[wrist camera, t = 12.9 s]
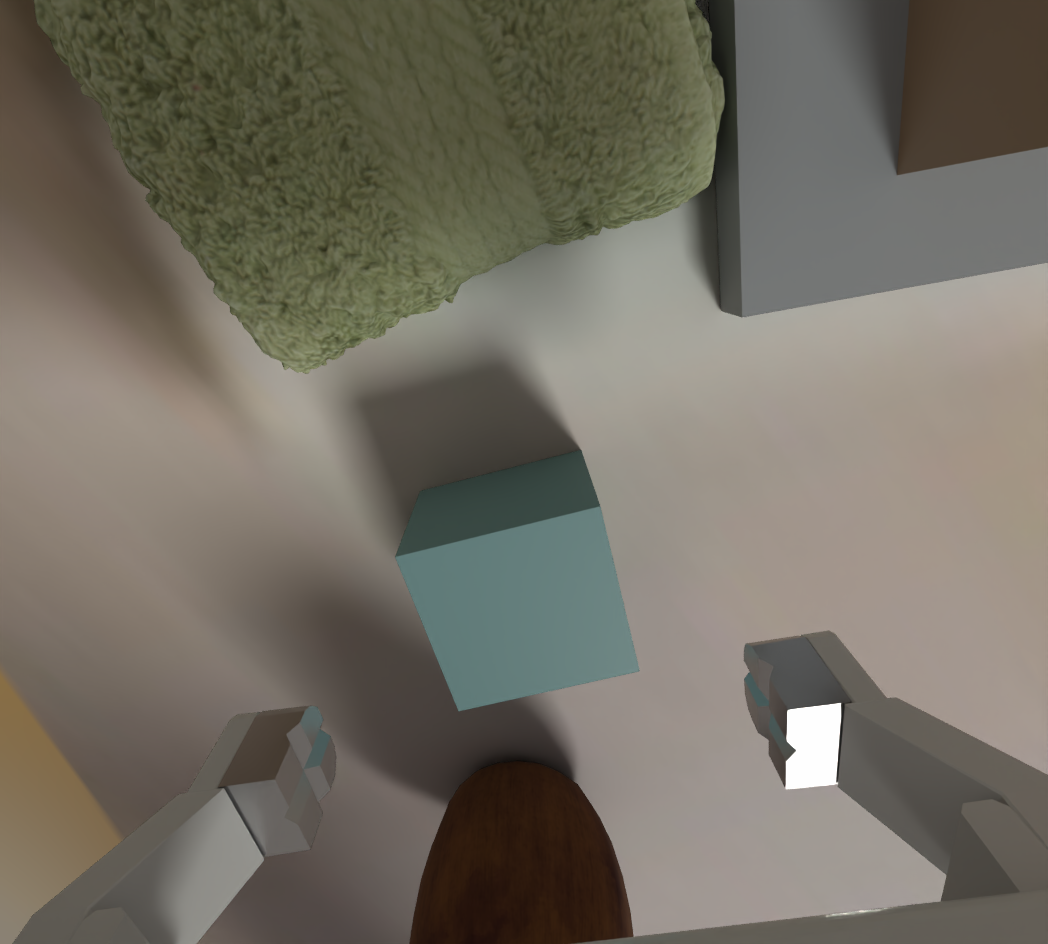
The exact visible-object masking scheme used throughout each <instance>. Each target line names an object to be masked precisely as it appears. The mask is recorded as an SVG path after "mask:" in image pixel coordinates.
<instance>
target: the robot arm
mask: <svg viewBox="0 0 1048 944" xmlns="http://www.w3.org/2000/svg"><path fill="white" fill-rule="evenodd" d="M744 662H745V663H746V665H747V667H748V669H749V671H750V672H749V673H748V675H747V676H746V677H745V679H744V686H745V696H746V701H747V706H748V710H749V712H750V715H751V718H752V721H753V723H754V725H755V727H756V729H757V731H758V733H759V734H761V735H762V736H764V737H765V738H767V739H768V740H769V756H770V758H771V760H772V762H773V764H774V766H775V768H776V770H777V772H778V774H779V776H780V778H781V780H782V782H783V784H784V786H785V788H786V789H793V788H803V787H813V786H823V785H833V784H838V787H839V788H840V789H841V790H842V791H843V792H845V793H846V794H847V795H848V796H850V797H851V798H852V799H853V800H855V801H856V802H857V803H858V804H860V805H861V806H862V807H863V808H864V809H866V810H867V811H868V812H869V813H871V814H872V815H873V816H874V817H876V818H877V819H878V820H879V821H880V822H882V823H883V824H884V825H885V826H887V827H888V828H889V829H890V830H892V831H893V832H894V833H895V834H897V835H898V836H899V837H900V838H901V839H903V840H904V841H905V842H906V843H908V844H909V845H910V846H911V847H913V848H914V849H915V850H916V851H918V852H919V853H920V854H921V855H922V856H924V857H925V858H926V859H927V860H929V861H930V862H931V863H932V864H934V865H935V866H936V867H937V868H938V869H940V870H941V871H942V872H943V873H945V874H946V875H947V876H946V880H945V885H944V889H943V894H942V898H941V902H932V903H924V904H915V905H906V906H898V907H889V908H880V909H871V910H863V911H854V912H845V913H837V914H828V915H819V916H810V917H802V918H793V919H784V920H776V921H767V922H758V923H749V924H741V925H732V926H723V927H715V928H706V929H697V930H688V931H680V932H671V933H662V934H654V935H645V936H636V937H627V938H619V939H610V940H601V941H592V942H584V943H575V944H1048V775H1047V774H1045V773H1043V772H1041V771H1039V770H1037V769H1035V768H1033V767H1031V766H1029V765H1027V764H1025V763H1023V762H1021V761H1020V760H1018V759H1016V758H1014V757H1012V756H1010V755H1008V754H1006V753H1004V752H1002V751H1000V750H998V749H996V748H994V747H992V746H990V745H988V744H986V743H984V742H982V741H980V740H978V739H977V738H975V737H973V736H971V735H969V734H967V733H965V732H963V731H961V730H959V729H957V728H955V727H953V726H951V725H949V724H947V723H945V722H943V721H941V720H939V719H937V718H936V717H934V716H932V715H930V714H928V713H926V712H924V711H922V710H920V709H918V708H916V707H914V706H912V705H910V704H908V703H906V702H904V701H902V700H900V699H898V698H887V697H886V696H885V695H884V694H883V692H882V691H881V690H880V689H879V688H878V686H877V685H876V684H875V683H874V681H873V680H872V679H871V678H870V676H869V675H868V674H867V673H866V671H865V670H864V669H863V668H862V667H861V665H860V664H859V663H858V662H857V660H856V659H855V658H854V657H853V655H852V654H851V653H850V652H849V650H848V649H847V648H846V647H845V646H844V644H843V643H842V642H841V641H840V639H839V638H838V637H837V636H836V634H834V633H833V632H831V631H823V632H817V633H811V634H804V635H801V636H793V637H786V638H779V639H773V640H766V641H760V642H753V643H746V645H745V648H744ZM322 722H323V718H322V716H321V714H320V712H319V710H318V708H317V707H315V706H303V707H294V708H286V709H277V710H268V711H262V712H257V713H248V714H238V715H236V716H235V717H234V718H232V719H231V720H230V721H229V722H228V724H227V726H226V728H225V729H224V731H223V733H222V734H221V736H220V738H219V739H218V741H217V743H216V744H215V746H214V748H213V750H212V751H211V753H210V755H209V756H208V758H207V760H206V761H205V763H204V765H203V766H202V768H201V770H200V772H199V773H198V775H197V777H196V778H195V780H194V782H193V783H192V785H191V787H190V789H189V790H188V792H187V793H183V794H178V795H177V796H176V797H175V798H173V799H172V800H171V801H170V802H169V803H167V804H166V805H165V806H164V807H163V808H161V809H160V810H159V811H158V812H157V813H155V814H154V815H153V816H152V817H151V818H149V819H148V820H147V821H146V822H145V823H143V824H142V825H141V826H140V827H138V828H137V829H136V830H135V831H134V832H132V833H131V834H130V835H129V836H128V837H126V838H125V839H124V840H123V841H122V842H120V843H119V844H118V845H117V846H116V847H114V848H113V849H112V850H111V851H110V852H108V853H107V854H106V855H105V856H103V857H102V858H101V859H100V860H99V861H97V862H96V863H95V864H94V865H93V866H91V867H90V868H89V869H88V870H87V871H85V872H84V873H83V874H82V875H81V876H80V877H78V878H77V879H76V880H75V881H73V882H72V883H71V884H70V885H69V886H67V887H66V888H65V889H64V890H62V891H61V892H60V893H59V894H58V895H56V896H55V897H54V898H53V899H52V900H50V901H49V902H48V903H47V904H46V905H44V906H43V907H42V908H41V909H40V910H38V911H37V912H36V913H35V914H33V915H32V917H31V918H30V920H29V921H28V923H27V924H26V925H25V927H24V928H23V930H22V931H21V933H20V934H19V935H18V937H17V938H16V939H15V941H14V942H13V944H197V942H198V941H199V940H200V939H201V938H202V936H203V935H204V934H205V933H206V931H207V930H208V929H209V928H210V926H211V925H212V924H213V923H214V921H215V920H216V919H217V918H218V917H219V915H220V914H221V913H222V912H223V910H224V909H225V908H226V907H227V905H228V904H229V903H230V902H231V901H232V899H233V898H234V897H235V896H236V894H237V893H238V892H239V891H240V889H241V888H242V887H243V886H244V884H245V883H246V882H247V881H248V880H249V878H250V877H251V876H252V875H253V873H254V872H255V871H256V870H257V868H258V867H259V866H260V865H261V864H262V862H263V861H264V857H267V856H273V855H280V854H286V853H292V852H299V851H305V850H311V847H312V844H313V841H314V838H315V835H316V832H317V829H318V826H319V823H320V820H321V817H322V814H323V812H322V809H321V807H320V805H319V801H320V800H321V799H322V798H323V797H324V796H325V795H326V794H327V793H328V792H329V791H330V790H331V787H332V783H333V780H334V777H335V771H336V752H335V746H334V743H333V741H332V738H331V736H329V735H328V734H326V733H325V732H323V731H322V730H320V727H321V724H322Z"/></svg>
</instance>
